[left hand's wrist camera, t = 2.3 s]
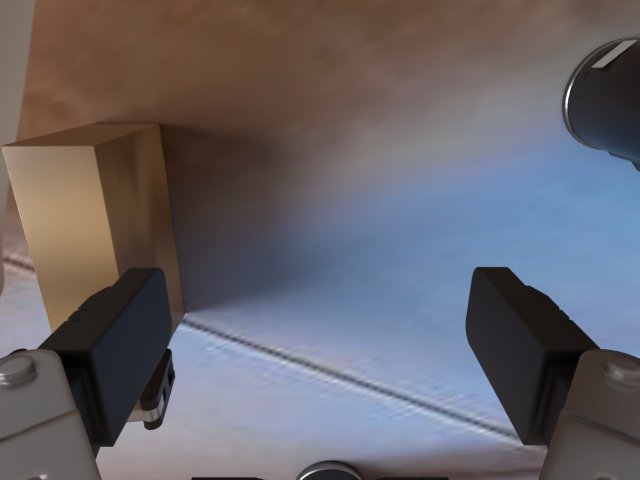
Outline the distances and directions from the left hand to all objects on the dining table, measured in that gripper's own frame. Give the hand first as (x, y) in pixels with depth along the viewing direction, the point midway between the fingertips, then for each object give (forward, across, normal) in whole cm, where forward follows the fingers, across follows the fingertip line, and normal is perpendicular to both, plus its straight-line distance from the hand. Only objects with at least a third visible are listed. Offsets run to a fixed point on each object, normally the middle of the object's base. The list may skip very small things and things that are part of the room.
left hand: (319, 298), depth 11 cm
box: (+31, -18, -9) cm, 37 cm away
